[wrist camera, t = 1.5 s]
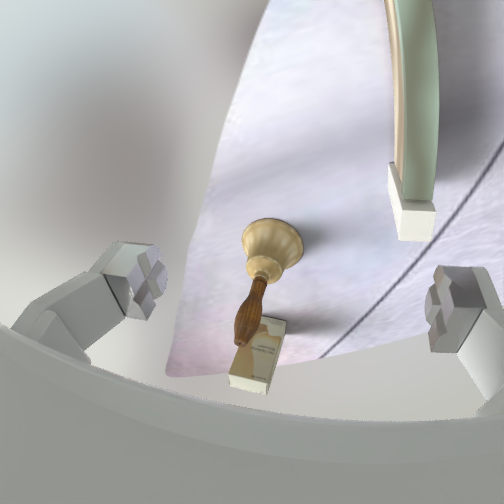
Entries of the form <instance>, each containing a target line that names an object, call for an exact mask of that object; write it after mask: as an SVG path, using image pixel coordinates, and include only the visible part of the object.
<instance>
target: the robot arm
mask: <svg viewBox="0 0 504 504" xmlns="http://www.w3.org/2000/svg"><path fill="white" fill-rule="evenodd" d="M160 257H161V253H160V251H159V248H158V246H156V245H154V244H146V243H136V242H123V241H116V242H114V243H112V244H111V245H110V247H109V248H108V249H107V250H106V251H105V252H104V253H103V254H102V256H101V257H100V258H99V259H98V260H97V262H96V263H95V264H94V265H93V266H92V267H91V269H90V270H89V271H88V272H83V273H81V274H79V275H78V276H76V277H74V278H72V279H70V280H68V281H67V282H65V283H63V284H61V285H60V286H58V287H56V288H54V289H53V290H51V291H49V292H48V293H46V294H44V295H42V296H41V297H39V298H37V299H36V300H34V301H32V302H31V303H30V304H29V305H28V306H27V308H26V309H25V310H24V311H23V313H22V314H21V315H20V317H19V318H18V319H17V321H16V322H15V323H14V325H13V326H12V327H11V329H10V328H8V327H6V326H4V325H2V324H0V504H504V309H503V308H502V305H501V303H500V300H499V298H498V295H497V293H496V290H495V288H494V285H493V283H492V280H491V278H490V276H489V273H488V271H487V269H485V268H484V267H461V266H446V265H438V267H437V268H436V270H435V273H434V276H433V277H434V281H435V284H433V285H432V286H431V287H430V288H429V290H428V293H427V296H426V301H425V317H426V321H427V322H428V323H429V324H430V325H431V328H430V330H429V332H428V335H429V342H430V349H431V352H437V353H457V354H456V355H457V356H458V357H459V359H460V360H461V362H462V363H463V365H464V366H465V368H466V369H467V371H468V372H469V374H470V375H471V377H472V378H473V380H474V382H475V383H476V385H477V386H478V388H479V390H480V391H481V393H482V394H483V396H484V398H485V399H486V401H487V402H486V403H485V404H484V405H483V406H482V407H481V408H480V409H479V410H478V411H477V412H476V413H475V414H474V415H473V418H463V419H451V420H435V421H408V422H407V421H402V422H401V421H398V422H397V421H393V422H392V421H389V422H388V421H358V420H341V419H328V418H317V417H307V416H299V415H291V414H283V413H276V412H270V411H263V410H256V409H251V408H246V407H240V406H235V405H230V404H224V403H220V402H215V401H211V400H206V399H202V398H198V397H194V396H190V395H186V394H181V393H178V392H174V391H170V390H167V389H163V388H160V387H156V386H153V385H149V384H146V383H143V382H139V381H136V380H133V379H130V378H127V377H124V376H121V375H118V374H115V373H112V372H109V371H107V370H104V369H101V368H98V367H96V366H93V365H91V360H90V358H89V357H88V356H87V354H86V353H85V352H84V350H86V349H87V348H88V347H89V346H91V345H92V344H93V343H95V342H96V341H97V340H98V339H100V338H101V337H102V336H103V335H104V334H106V333H107V332H108V331H110V330H111V329H112V328H113V327H115V326H116V325H117V324H119V323H120V322H121V321H122V320H124V319H125V317H129V318H134V319H140V320H146V321H147V320H148V318H149V317H150V315H151V313H152V311H153V309H154V308H155V306H156V303H155V299H156V298H158V297H160V296H161V295H162V294H163V292H164V290H165V289H166V285H167V280H168V278H167V271H166V268H165V266H164V265H163V264H162V263H161V262H160V261H159V259H160Z"/></svg>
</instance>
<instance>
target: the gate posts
mask: <svg viewBox="0 0 504 504" xmlns="http://www.w3.org/2000/svg"><path fill="white" fill-rule="evenodd" d="M401 190H402V183H401V180H400V177H399V174H398V171H397V168H396V166H395V163H388V191H389V196H390V200H391V204H392V209H393V214H394V218H395V223H396V228H397V233H398V239H399V241H424V242H431V238H432V233H433V228H434V222H435V216H436V210H435V208H434V205H433V203H432V201H431V200H417V199H403V196H402V193H401Z"/></svg>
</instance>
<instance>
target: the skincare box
mask: <svg viewBox="0 0 504 504" xmlns="http://www.w3.org/2000/svg"><path fill="white" fill-rule="evenodd" d="M285 331H286V321H283V320H278V319H273V318H269V317H264V316H262V317H261V322H260V325H259V328H258V330H257V331H256V333H255V334H254V336H253V337H252V338H251V339H250V340H249V342H248V344H247V345H246V347H238V350H237V353H236V355H235V358H234V360H233V363H232V366H231V368H230V371H229V373H228V378H229V385H230V386H232V387H237V388H240V389H244V390H246V391H251V392H256V393H260V394H265V395H267V394H268V391H269V387H270V384H271V380H272V377H273V374H274V371H275V367H276V364H277V361H278V357H279V354H280V350H281V347H282V343H283V340H284V336H285Z"/></svg>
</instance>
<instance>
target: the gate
mask: <svg viewBox="0 0 504 504" xmlns="http://www.w3.org/2000/svg"><path fill="white" fill-rule="evenodd" d="M384 2H385V9H386V15H387V22H388V30H389V38H390V48H391V58H392V71H393V87H394V114H395V155H394V163H395V166H396V168H397V171H398V174H399V177H400V180H401V183H402V190H401V193H402V196H403V199H417V200H432V198H433V190H434V182H435V172H436V162H437V148H438V130H439V69H438V52H437V39H436V29H435V21H434V13H433V6H432V0H384Z"/></svg>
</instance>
